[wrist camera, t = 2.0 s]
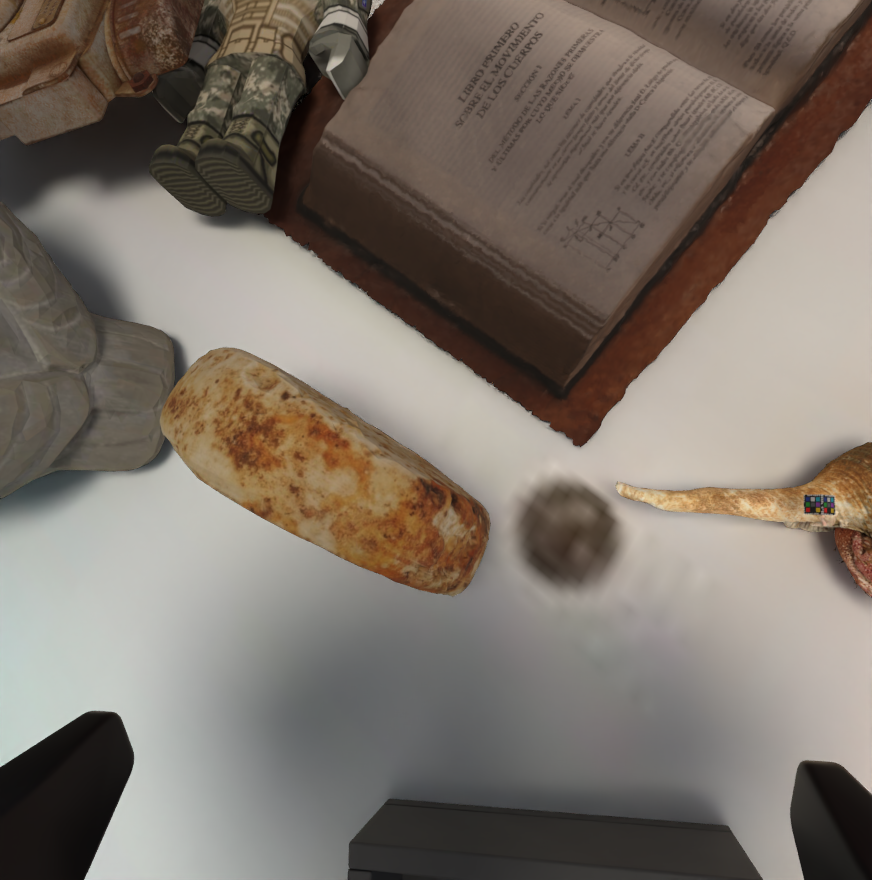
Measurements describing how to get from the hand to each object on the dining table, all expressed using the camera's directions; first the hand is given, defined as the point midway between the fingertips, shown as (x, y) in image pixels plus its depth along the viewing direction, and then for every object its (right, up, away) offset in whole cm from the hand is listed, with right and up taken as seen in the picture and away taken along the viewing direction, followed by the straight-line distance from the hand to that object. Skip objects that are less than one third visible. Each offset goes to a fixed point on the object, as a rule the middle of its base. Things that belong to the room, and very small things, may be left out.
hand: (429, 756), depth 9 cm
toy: (-9, +14, +17) cm, 24 cm away
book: (+7, +20, +18) cm, 28 cm away
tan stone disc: (-2, +2, +16) cm, 17 cm away
